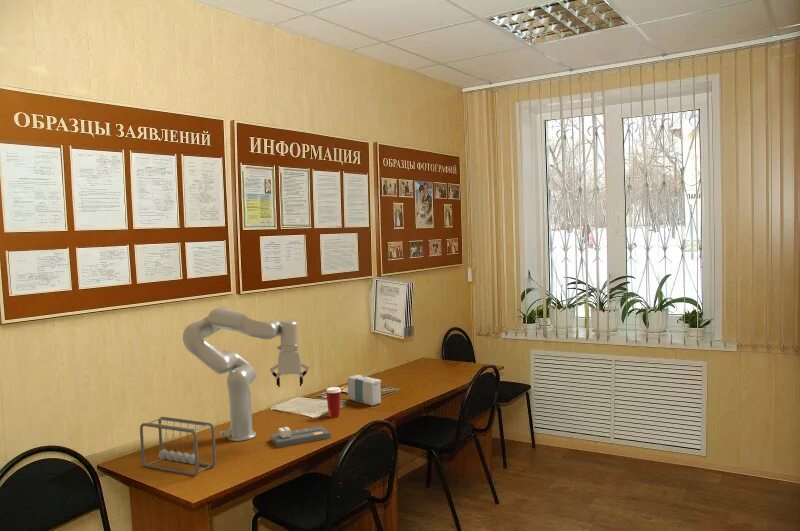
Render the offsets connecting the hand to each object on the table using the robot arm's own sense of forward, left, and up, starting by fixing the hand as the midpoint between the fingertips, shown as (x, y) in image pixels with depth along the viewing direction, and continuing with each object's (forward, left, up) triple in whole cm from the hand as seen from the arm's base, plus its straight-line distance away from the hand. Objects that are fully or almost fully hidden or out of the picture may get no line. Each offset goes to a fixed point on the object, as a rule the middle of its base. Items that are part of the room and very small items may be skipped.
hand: (289, 386), depth 277 cm
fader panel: (+2, -6, -23) cm, 24 cm away
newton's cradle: (-50, -12, -24) cm, 57 cm away
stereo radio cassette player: (+52, +36, -23) cm, 68 cm away
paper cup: (+28, +20, -23) cm, 42 cm away
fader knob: (-5, -6, -20) cm, 22 cm away
